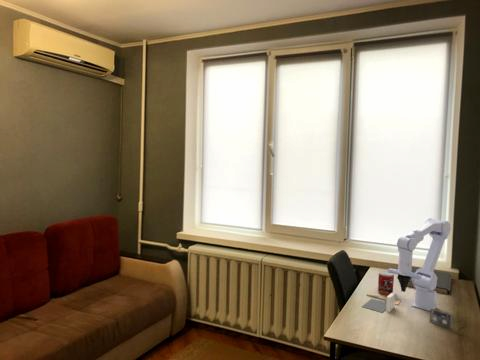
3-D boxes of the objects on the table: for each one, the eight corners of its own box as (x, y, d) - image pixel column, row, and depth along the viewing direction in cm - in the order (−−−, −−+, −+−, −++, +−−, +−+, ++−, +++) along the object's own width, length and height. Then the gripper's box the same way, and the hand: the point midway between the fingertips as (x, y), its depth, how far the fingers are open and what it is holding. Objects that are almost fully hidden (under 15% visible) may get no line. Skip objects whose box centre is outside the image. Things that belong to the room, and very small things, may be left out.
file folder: (409, 265, 242) (451, 273, 230) (408, 271, 242) (451, 280, 230) (402, 279, 214) (449, 288, 201) (401, 286, 214) (449, 296, 202)
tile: (394, 307, 182) (394, 293, 181) (389, 312, 176) (390, 297, 176) (390, 306, 183) (391, 292, 182) (385, 311, 177) (386, 296, 177)
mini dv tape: (450, 327, 162) (451, 314, 161) (449, 328, 161) (450, 315, 160) (431, 321, 168) (431, 308, 167) (429, 322, 167) (430, 309, 166)
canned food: (377, 294, 199) (378, 274, 198) (377, 289, 206) (379, 269, 206) (392, 296, 196) (394, 276, 195) (392, 291, 204) (394, 271, 203)
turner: (400, 302, 189) (400, 300, 189) (397, 305, 185) (397, 303, 185) (368, 294, 199) (369, 292, 199) (365, 296, 195) (365, 295, 195)
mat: (391, 304, 186) (391, 303, 186) (382, 312, 175) (382, 312, 175) (371, 298, 192) (371, 298, 192) (361, 306, 181) (361, 306, 181)
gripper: (386, 261, 176) (385, 289, 177) (419, 267, 167) (417, 297, 168) (391, 258, 181) (389, 285, 182) (423, 264, 172) (421, 293, 173)
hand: (403, 291), depth 175 cm, fingers closed
